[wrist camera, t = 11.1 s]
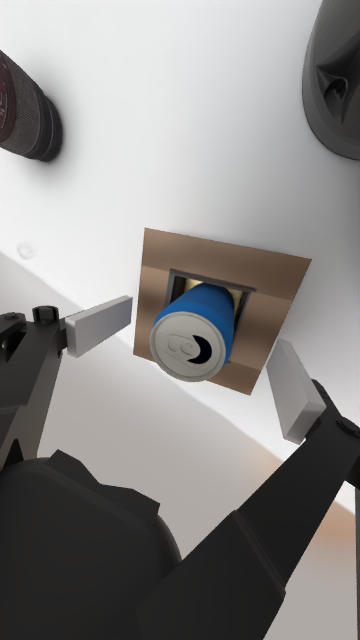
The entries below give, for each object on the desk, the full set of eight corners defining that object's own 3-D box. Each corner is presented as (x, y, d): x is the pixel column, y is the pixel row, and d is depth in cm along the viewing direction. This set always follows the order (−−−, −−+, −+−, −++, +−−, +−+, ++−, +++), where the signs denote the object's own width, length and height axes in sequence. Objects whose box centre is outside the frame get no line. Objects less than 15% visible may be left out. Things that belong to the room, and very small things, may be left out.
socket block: (168, 234, 23) (144, 227, 17) (290, 257, 20) (311, 259, 14) (153, 334, 29) (133, 354, 23) (247, 364, 26) (250, 395, 20)
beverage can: (227, 333, 24) (219, 398, 13) (182, 321, 25) (141, 371, 15) (240, 286, 22) (244, 319, 11) (189, 276, 23) (147, 296, 12)
